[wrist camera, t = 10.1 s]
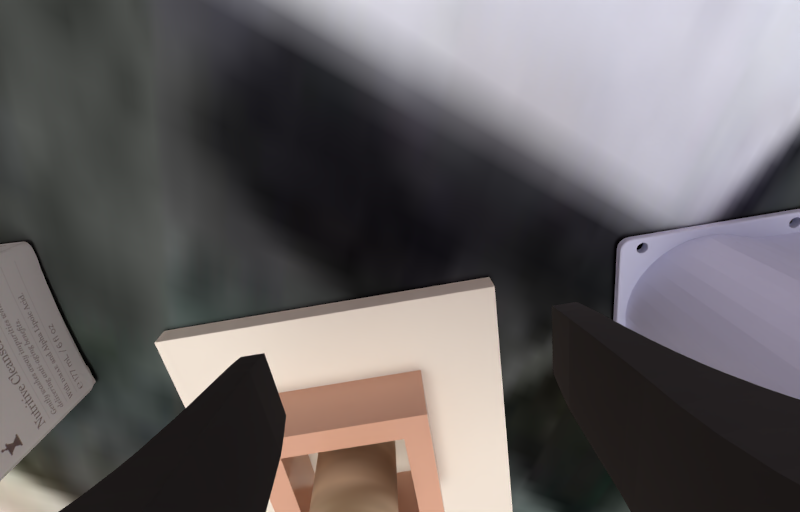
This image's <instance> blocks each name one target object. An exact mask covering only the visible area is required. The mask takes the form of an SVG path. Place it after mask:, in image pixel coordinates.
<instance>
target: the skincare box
mask: <svg viewBox="0 0 800 512" xmlns="http://www.w3.org/2000/svg"><path fill="white" fill-rule="evenodd" d="M95 382H96V381H95V379H94V377H93V376H92V374H91V371H90V369H89V367H88V366H87V365H86V364H85V362H84V360H83V358H82V356H81V354H80V352H79V351H78V349H77V347H76V345H75V343H74V341H73V339H72V337H71V335H70V333H69V331H68V329H67V327H66V325H65V323H64V321H63V318H62V316H61V314H60V312H59V310H58V308H57V305H56V303H55V301H54V299H53V296H52V294H51V292H50V289H49V287H48V285H47V283H46V280H45V277H44V275H43V273H42V270H41V268H40V265H39V262H38V259H37V256H36V254H35V252H34V250H33V248H32V247H31V245H30V244H28V243H27V242H23V241H22V242H15V243H7V244H0V481H1V480H2V479H3V478H4V477H5V476H6V475H7V474H8V473H9V472H10V471H11V470H12V469H13V468H14V467H15V466H16V465H17V464H18V463H19V462H20V461H21V460H22V459H23V458H24V457H25V456H26V455H27V454H28V453H29V452H30V451H31V450H32V449H33V448H34V447H35V446H36V445H37V444H38V443H39V442H40V441H41V440H42V439H43V438H44V437H45V436H46V435H47V434H48V433H49V432H50V431H51V430H52V429H53V428H54V427H55V426H56V425H57V424H58V423H59V422H60V421H61V420H62V419H63V418H64V417H65V416H66V415H67V414H68V413H69V412H70V411H71V410H72V409H73V408H74V407H75V406H76V405H77V404H78V403H79V402H80V401H81V400H82V399H83V398H84V397H85V396H86V395H87V394H88V393H89V392H90V391H91V390H92V388H93V385H94V384H95Z"/></svg>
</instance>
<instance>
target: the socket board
mask: <svg viewBox="0 0 800 512" xmlns="http://www.w3.org/2000/svg"><path fill="white" fill-rule="evenodd" d="M155 345H156V347H157V349H158V351H159V353H160V355H161V357H162V360H163V362H164V364H165V366H166V368H167V370H168V372H169V374H170V376H171V379H172V381H173V383H174V385H175V387H176V389H177V391H178V393H179V396H180V398H181V400H182V402H183V404H184V406H185V408H186V407H187V406H189V405H190V404H191V403H192V402H193V401H194V400H195V399H196V398H197V397H198V396H199V395H200V394H201V393H202V392H203V391H204V390H205V389H206V388H207V387H208V386H209V385H210V384H212V383H213V382H214V381H215V380H216V379H217V378H218V377H219V376H220V375H221V374H222V373H223V372H224V371H225V370H226V369H227V368H228V367H229V366H231V365H232V364H233V363H234V362H235V361H236V360H238V359H239V358H240V357H244V356H250V355H256V354H262V353H265V356H266V359H267V362H268V365H269V368H270V371H271V373H272V376H273V379H274V382H275V385H276V388H277V390H278V393H279V396H280V399H281V402H282V405H283V407H284V410H285V413H286V422H285V431H284V439H283V445H282V452H281V457H280V461H279V465H278V469H277V473H276V476H275V480H274V484H273V488H272V491H271V495H270V499H269V502H268V506H267V510H266V512H309V509H310V503H311V497H312V490H313V484H314V478H315V471H316V465H317V459H318V453H319V452H326V451H332V450H338V449H344V448H351V447H357V446H363V445H370V444H376V443H382V442H388V441H395V447H396V468H397V489H398V510H399V512H513V511H512V498H511V486H510V473H509V461H508V448H507V436H506V423H505V410H504V398H503V385H502V373H501V360H500V348H499V335H498V323H497V310H496V297H495V286H494V284H493V283H492V281H491V279H490V277H486V278H480V279H474V280H468V281H462V282H455V283H449V284H443V285H437V286H431V287H425V288H419V289H413V290H407V291H401V292H395V293H389V294H383V295H377V296H371V297H365V298H359V299H353V300H347V301H341V302H335V303H329V304H323V305H317V306H311V307H305V308H299V309H293V310H286V311H280V312H274V313H268V314H262V315H256V316H250V317H244V318H238V319H232V320H226V321H220V322H214V323H208V324H202V325H196V326H190V327H184V328H178V329H172V330H166V331H164V332H163V333H162V334H161V335H160V337H159V338H158V339H157V340H156V341H155Z"/></svg>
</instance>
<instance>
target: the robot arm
mask: <svg viewBox="0 0 800 512" xmlns="http://www.w3.org/2000/svg"><path fill="white" fill-rule="evenodd" d="M792 219H793V220H792ZM791 220H792V222H791V223H790V221H791ZM789 223H790V224H789ZM641 243H643V246H642V247H641V248H640V249H639V250H637V246H638V245H639V244H641ZM552 344H553V374H554V376H555V378H556V381H557V383H558V385H559V388H560V390H561V392H562V394H563V396H564V399H565V401H566V403H567V405H568V407H569V409H570V411H571V413H572V414H573V416H574V418H575V419H576V421H577V423H578V424H579V426H580V428H581V429H582V431H583V433H584V434H585V436H586V438H587V439H588V441H589V443H590V444H591V446H592V447H593V449H594V451H595V452H596V454H597V456H598V457H599V459H600V461H601V462H602V464H603V465H604V467H605V469H606V470H607V472H608V474H609V475H610V477H611V478H612V480H613V482H614V483H615V485H616V487H617V488H618V490H619V491H620V493H621V495H622V497H623V498H624V500H625V502H626V504H627V505H628V507H629V509H630V511H631V512H800V209H794V210H788V211H782V212H776V213H770V214H764V215H758V216H752V217H746V218H740V219H734V220H728V221H722V222H716V223H710V224H704V225H698V226H692V227H686V228H680V229H674V230H668V231H662V232H656V233H650V234H644V235H638V236H632V237H627V238H624V239H623V240H621V241H620V242H619V244H618V246H617V255H616V275H615V296H614V316H613V320H612V319H610V318H608V317H606V316H604V315H602V314H600V313H598V312H596V311H594V310H592V309H590V308H588V307H586V306H584V305H582V304H580V303H578V302H573V303H567V304H561V305H555V306H552ZM285 422H286V413H285V410H284V407H283V405H282V402H281V399H280V396H279V393H278V390H277V388H276V385H275V382H274V379H273V376H272V373H271V371H270V368H269V365H268V362H267V359H266V356H265V353H262V354H256V355H250V356H244V357H240V358H239V359H238V360H236V361H235V362H234V363H233V364H232V365H231V366H229V367H228V368H227V369H226V370H225V371H224V372H223V373H222V374H221V375H220V376H219V377H218V378H217V379H216V380H215V381H214V382H213V383H212V384H210V385H209V386H208V387H207V388H206V389H205V390H204V391H203V392H202V393H201V394H200V395H199V396H198V397H197V398H196V399H195V400H194V401H193V402H192V403H191V404H190V405H189V406H187V407H186V408H185V409H184V410H183V411H182V412H181V413H180V414H179V415H178V416H177V417H176V418H175V419H174V420H172V421H171V422H170V423H169V424H168V425H167V426H166V427H165V428H163V429H162V430H161V431H160V432H159V433H158V434H157V435H156V436H154V437H153V438H152V439H151V440H150V441H149V442H148V443H147V444H145V445H144V446H143V447H142V448H141V449H140V450H139V451H138V452H136V453H135V454H134V455H133V456H132V457H130V458H129V459H128V460H127V461H126V462H124V463H123V464H122V465H121V466H119V467H118V468H117V469H116V470H114V471H113V472H112V473H111V474H109V475H108V476H107V477H105V478H104V479H103V480H101V481H100V482H99V483H98V484H96V485H95V486H94V487H92V488H91V489H90V490H89V491H87V492H86V493H84V494H83V495H82V496H80V497H79V498H78V499H76V500H75V501H73V502H72V503H71V504H69V505H68V506H66V507H65V508H63V509H62V510H61V511H59V512H266V510H267V506H268V502H269V499H270V495H271V491H272V488H273V484H274V480H275V476H276V473H277V469H278V465H279V461H280V457H281V452H282V445H283V439H284V431H285Z"/></svg>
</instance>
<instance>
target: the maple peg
mask: <svg viewBox="0 0 800 512" xmlns="http://www.w3.org/2000/svg"><path fill="white" fill-rule="evenodd" d="M309 512H399V510H398V489H397V468H396V447H395V441H388V442H382V443H376V444H370V445H363V446H357V447H351V448H344V449H338V450H332V451H326V452H319V453H318V459H317V465H316V471H315V478H314V484H313V490H312V497H311V503H310V509H309Z"/></svg>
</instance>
